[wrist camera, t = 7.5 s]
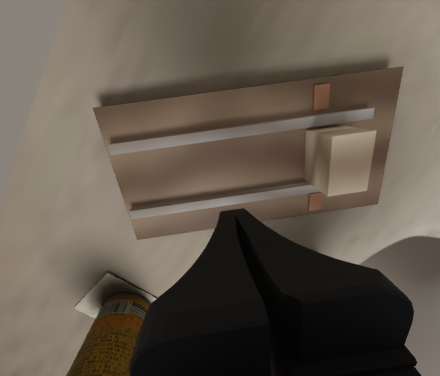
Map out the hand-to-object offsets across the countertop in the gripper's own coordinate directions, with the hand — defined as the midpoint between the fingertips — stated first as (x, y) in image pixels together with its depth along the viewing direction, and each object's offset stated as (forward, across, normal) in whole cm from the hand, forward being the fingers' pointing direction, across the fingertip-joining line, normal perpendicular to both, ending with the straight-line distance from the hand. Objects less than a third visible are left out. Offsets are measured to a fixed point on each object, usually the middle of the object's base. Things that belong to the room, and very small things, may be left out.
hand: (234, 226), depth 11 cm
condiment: (+10, +14, +15) cm, 23 cm away
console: (+9, -3, -1) cm, 10 cm away
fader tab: (+8, -9, -1) cm, 12 cm away
